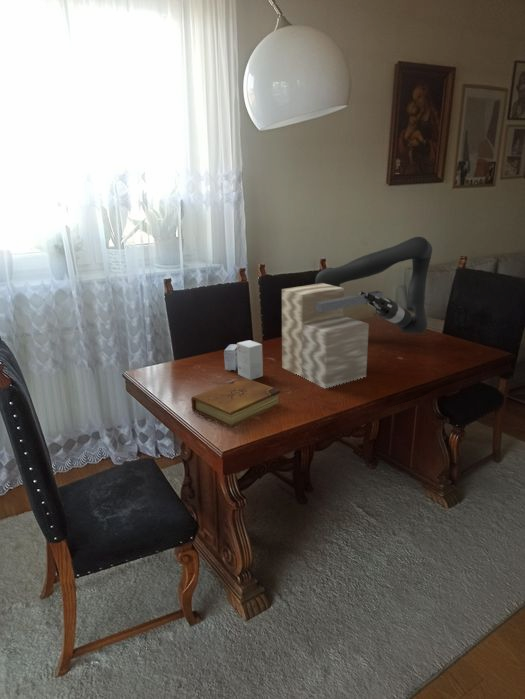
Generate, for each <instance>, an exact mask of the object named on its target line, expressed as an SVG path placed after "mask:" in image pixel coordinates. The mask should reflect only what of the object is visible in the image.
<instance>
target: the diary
mask: <svg viewBox="0 0 525 699" xmlns="http://www.w3.org/2000/svg"><path fill="white" fill-rule="evenodd" d="M281 392H282V390H281V389H278V388H276V387H273V386H269V385H267V384H264V383H261V382H258V381H255V380H254V379H252V380H250V379H247V378H245V377H243V376H242V377H240V378H237V379H235V380H232V381H229V382H228V383H225V384H222V385H219V386H217V387H214V388H211V389H209V390H206V391H204V392H202V393H198V394H196V395H193V396H192V397H191V401H190V402H191V410H192V411H193V412H195V413H197V414H199V415H202V416H203V417H205V418H209V419H211V420H212V421H215V422H216V423H219V424H222V425H224V426H225V427H228V428H233V427H235V426H237V425H239V424H242V423H244V422H246V421H248V420H250V419H252V418H255V417H257V416H259V415H261V414H263V413H265V412H267V411H270V410H272V409H274V408H276V407H278V406H280V405H281V404H282V403H281V402H280V401H279V394H280V393H281Z"/></svg>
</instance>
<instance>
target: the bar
mask: <svg viewBox="0 0 525 699" xmlns="http://www.w3.org/2000/svg"><path fill="white" fill-rule="evenodd" d="M367 293H370V294H372V295H373V296H377V297H379V298H382V299H383V296H384V295H383V294H384V292H383V291H380V290H375V291H370V292H369V291H368V292H364V293H363V294H359V293H358V294H354V295H348V296H344V297H342V298H337V299H332V300H326V301H321V302H316V311H319V312H325V311H330V310H335V309H340V308H343V309H345V308H349V307H353V306H354V307H355V306H359V305H360V306H361V305H364V304H365V303H369V302H371V301H369V300H368V299H366V298H365V297H366V294H367Z"/></svg>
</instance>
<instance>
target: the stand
mask: <svg viewBox="0 0 525 699" xmlns="http://www.w3.org/2000/svg"><path fill="white" fill-rule="evenodd" d="M342 297H345V288H344V287H337V286H333V285H328V284H324V283H319V284H316V283H313V284H307V285H302V286H301V285H300V286H294V287H287V288H281V368H282V369H284V370H286V371H289V372H290V373H292V374H294V375H296V374H297V376H298V375H299V377H300V376H301V378H302V377H303V379H304V378H305V379H304V380H306V379H307V381H308V380H309V382H310V381H311V383H312V382H313V383H312V384H314V383H315V385H316V386H318V387H321V388H323V389H326V388H327V389H330V388H333V386H334V387H337V386H340V385H344V384H347V383H350V381H351V382H354V381H358V380H361V379H364V378H363V377H365V378H366V377H367V368H368V367H367V366H368V365H367V364H368V346H369V345H368V344H369V329H370V328H369V327H370V324H369V323H367V322H364V321H361V320H359V319H358V320H357V319H355V318H354V319H353V318H351V317H348V316H345V315H344V308H340V309H335V310H330V311H325V312H319V311H316V302H321V301H326V300H332V299H337V298H342ZM360 378H361V379H360ZM357 379H358V380H357ZM353 380H354V381H353ZM346 382H347V383H346ZM343 383H344V384H343ZM339 384H340V385H339ZM336 385H337V386H336ZM329 387H330V388H329Z"/></svg>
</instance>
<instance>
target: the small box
mask: <svg viewBox="0 0 525 699" xmlns="http://www.w3.org/2000/svg"><path fill="white" fill-rule="evenodd" d="M236 344H237V358H238V368H237V375H238V376H240V377H242V378H243V377H244V378H247V379H250V380H255V379H258V378H261V377H263V376H264V368H263V366H264V364H263V363H264V362H263V361H264V360H263V358H264V357H263V344H262V343H260V342H257V341H254V340H250V339H249V340H244V341H239V342H237V343H236Z"/></svg>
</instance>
